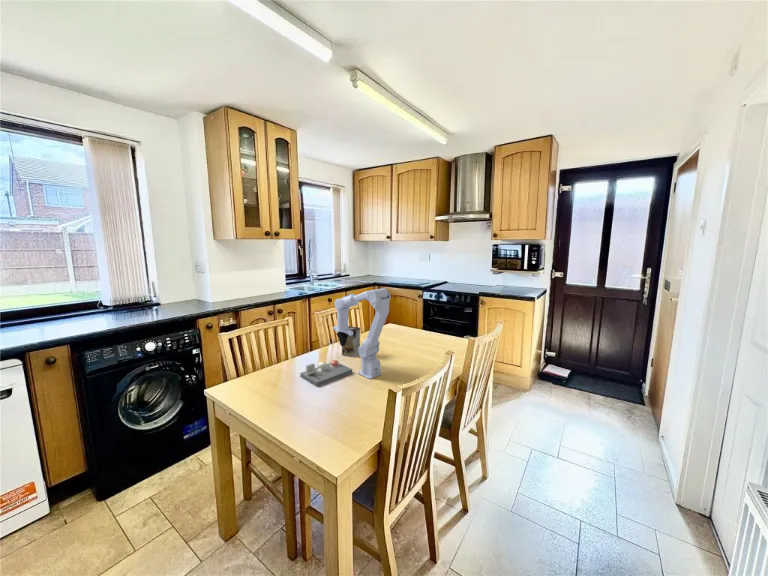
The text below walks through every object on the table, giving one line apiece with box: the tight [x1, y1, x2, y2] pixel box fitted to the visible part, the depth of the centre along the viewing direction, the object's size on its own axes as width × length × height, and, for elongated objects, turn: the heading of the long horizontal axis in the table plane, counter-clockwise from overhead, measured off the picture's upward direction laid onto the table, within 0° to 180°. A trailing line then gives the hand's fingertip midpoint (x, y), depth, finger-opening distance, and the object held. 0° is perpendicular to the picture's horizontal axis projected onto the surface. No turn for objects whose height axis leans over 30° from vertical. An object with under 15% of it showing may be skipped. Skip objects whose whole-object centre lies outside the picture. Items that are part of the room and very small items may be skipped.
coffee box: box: [341, 325, 361, 358], centre depth 179 cm, size 9×6×16 cm
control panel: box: [299, 362, 353, 388], centre depth 153 cm, size 14×21×2 cm, turn 135°
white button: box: [318, 361, 327, 369], centre depth 154 cm, size 4×4×2 cm
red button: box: [330, 359, 339, 367], centre depth 160 cm, size 4×4×2 cm
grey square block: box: [304, 362, 316, 376], centre depth 149 cm, size 3×4×4 cm
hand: (342, 345), depth 165 cm, fingers closed
